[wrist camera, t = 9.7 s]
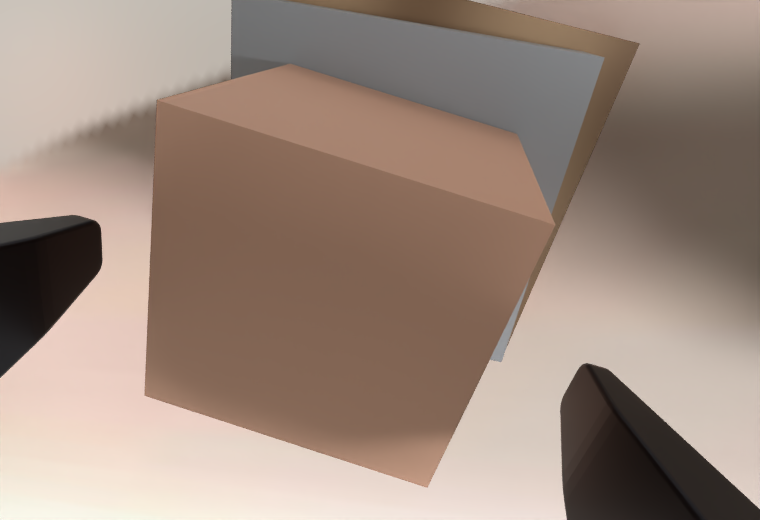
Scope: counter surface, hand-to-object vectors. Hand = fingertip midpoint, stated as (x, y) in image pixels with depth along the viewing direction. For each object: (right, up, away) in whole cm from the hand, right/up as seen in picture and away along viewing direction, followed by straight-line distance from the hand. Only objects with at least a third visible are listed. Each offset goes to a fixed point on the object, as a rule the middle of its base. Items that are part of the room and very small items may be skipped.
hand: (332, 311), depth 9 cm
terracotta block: (+1, +2, +5) cm, 6 cm away
